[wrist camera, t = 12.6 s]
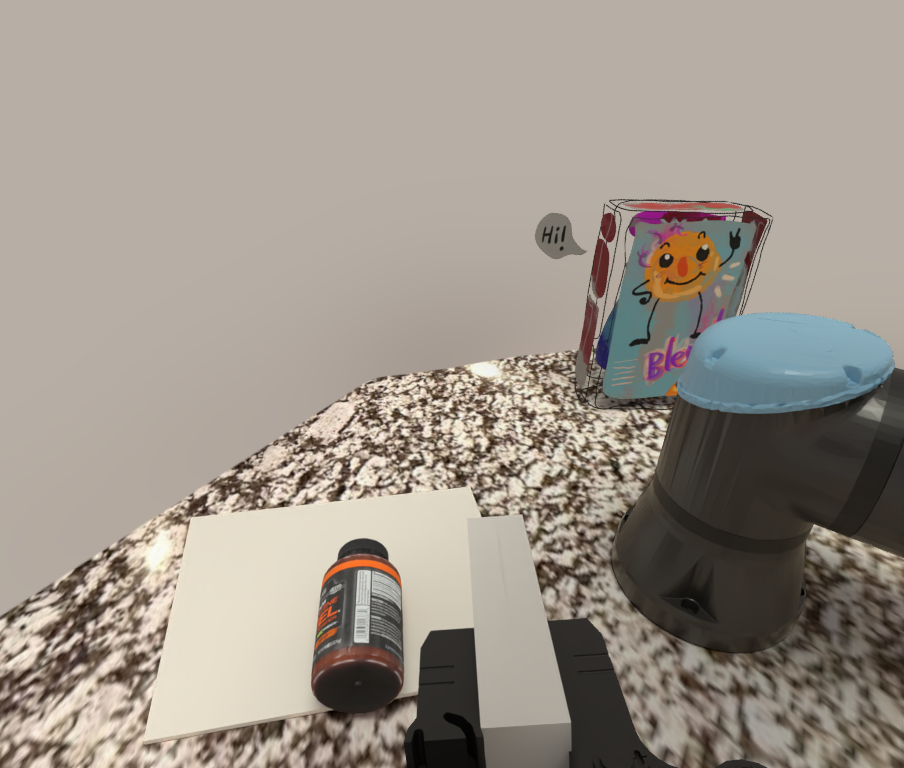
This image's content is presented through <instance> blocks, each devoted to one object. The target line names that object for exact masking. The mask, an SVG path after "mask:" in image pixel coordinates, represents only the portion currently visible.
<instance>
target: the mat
mask: <svg viewBox="0 0 904 768" xmlns="http://www.w3.org/2000/svg"><path fill="white" fill-rule="evenodd" d="M480 517H481V515H480V512H479V509H478V507H477V504H476V501H475V499H474V496H473V493H472V490H471V488H470V487H463V488H454V489H445V490H436V491H427V492H418V493H409V494H400V495H391V496H382V497H373V498H364V499H355V500H346V501H337V502H328V503H319V504H309V505H300V506H291V507H282V508H273V509H264V510H255V511H246V512H237V513H228V514H219V515H210V516H201V517H192V518H191V521H190V525H189V530H188V535H187V539H186V544H185V549H184V553H183V558H182V563H181V567H180V572H179V577H178V581H177V586H176V591H175V595H174V600H173V605H172V609H171V614H170V619H169V623H168V628H167V633H166V637H165V642H164V647H163V651H162V656H161V661H160V665H159V670H158V675H157V680H156V684H155V689H154V694H153V698H152V703H151V708H150V712H149V717H148V722H147V726H146V731H145V736H144V740H143V742H144V744H145V745H146V744H152V743H157V742H163V741H168V740H174V739H179V738H185V737H190V736H195V735H201V734H206V733H212V732H217V731H223V730H228V729H234V728H239V727H244V726H250V725H255V724H261V723H266V722H272V721H277V720H283V719H288V718H294V717H299V716H304V715H310V714H315V713H321V712H326V711H332V709H330V708H328V707H326V706H324V705H323V704H321V703H320V702H319V701H318V700H317V699H316V697H315V696H314V695H313V692H312V688H311V678H312V677H311V673H312V663H313V655H314V645H315V638H316V630H317V622H318V611H319V605H320V595H321V588H322V582H323V578H324V575H325V573H326V572H327V570H328V569H329V568H330V567H331V566H332V565H333V564H334V563H335V562H336V561H337V558H338V553H339V550H340V549H341V547H342V546H343V545H344V544H346V543H347V542H349V541H351V540H354V539H359V538H368V539H373V540H376V541H378V542H380V543H381V544H383V545H384V546H385V547H386V549H387V551H388V556H389V562H390V563H392V564H393V565H394V567H395V568H396V569H397V570H398V572H399V575H400V578H401V584H402V611H403V647H404V683H403V687H402V690H401V692H400V693H399V695H398V696H397V697H396V699H397V698H402V697H408V696H413V695H418V688H419V672H420V669H419V666H420V648H421V646H422V645H423V643H424V641H425V639H426V638H427V636H428V634H429V632H430V631H433V630H447V629H462V628H474V619H473V603H472V588H471V573H470V557H469V542H468V527H467V518H480Z"/></svg>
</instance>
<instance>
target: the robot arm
mask: <svg viewBox="0 0 904 768" xmlns="http://www.w3.org/2000/svg"><path fill="white" fill-rule="evenodd" d="M894 367H895V362H894V359H893V351H892V349H891V347H890V346H889V345H888V343H887V342H886V341H885V340H883V339H882V338H881V337H879V336H877V335H876V334H874V333H872V332H870V331H868V330H862V329H855V327H854V326H853V325H852V324H850V323H846V322H842V321H839V320H835V319H830V318H825V317H819V316H813V315H806V314H796V313H753V314H747V315H740V316H734V317H730V318H727V319H724V320H721V321H719V322H717V323H715V324H713V325H711V326H709V327H708V328H707V329H705V330H704V331H703V332H702V333H701V334H700V335H699V336H698V338H697V339H696V341H695V342H694V344H693V347H692V350H691V352H690V355H689V358H688V361H687V363H686V366H685V369H684V372H683V373H682V374H681V375H680V377H679V379H678V382H677V386H676V387H677V396H676V400H675V403H674V407H673V410H672V414H671V418H670V421H669V425H668V428H667V432H666V435H665V439H664V443H663V446H662V449H661V453H660V456H659V459H658V463H657V467H656V470H655V474H654V477H653V480H652V482H651V483H650V484H649V485H648V486H647V488H646V489H645V490H644V491H643V493H642V494H641V495H640V497H639V498H638V500H637V502H636V504H634V505H633V506H632V507H631V508H630V509H629V510H628V511H627V512H626V513H625V514H624V516H623V517H622V519H621V521H620V523H619V525H618V527H617V531H616V534H615V538H614V542H613V546H612V553H611V558H612V566H613V570H614V573H615V576H616V578H617V580H618V582H619V584H620V586H621V588H622V589H623V591H624V592H625V594H626V595H627V596H628V598H629V599H630V600H631V601H632V603H633V604H634V605H635V606H636V607H637V608H638V609H639V610H640V611H641V612H642V613H643V614H645V615H646V616H647V617H648V618H649V619H651V620H652V621H653V622H655V623H656V624H657V625H659V626H660V627H662V628H663V629H665V630H667V631H668V632H670V633H672V634H674V635H676V636H678V637H680V638H682V639H684V640H686V641H689V642H691V643H694V644H697V645H700V646H703V647H706V648H710V649H715V650H720V651H727V652H753V651H759V650H763V649H766V648H769V647H771V646H774V645H776V644H777V643H779V642H781V641H782V640H783V639H784V638H785V637H786V636H788V634H789V633H790V632H791V630H792V629H793V627H794V625H795V623H796V621H797V619H798V617H799V615H800V614H801V611H802V609H803V606H804V603H805V598H806V581H805V576H804V573H803V571H804V568H805V562H806V540H807V537H808V535H809V533H810V531H811V529H812V527H813V525H814V524H815V525H818V526H821V527H823V528H826V529H829V530H832V531H834V532H837V533H839V534H842V535H845V536H847V537H850V538H852V539H855V540H858V541H860V542H863V543H866V544H868V545H871V546H873V547H876V548H879V549H881V550H884V551H887V552H889V553H892V554H894V555H897V556H900V557H902V558H904V370H902V369H898V368H894ZM467 527H468V542H469V557H470V573H471V588H472V603H473V619H474V628H462V629H447V630H433V631H430V632H429V634H428V636H427V638H426V639H425V641H424V643H423V645H422V646H421V648H420V666H419V669H420V672H419V688H418V703H417V718H416V719H415V721H414V722H413V723H412V724H411V726H410V727H409V728H408V730H407V734H406V737H405V740H404V747H405V754H406V762H407V768H677V767H674V766H671V765H669V764H667V763H665V762H663V761H662V760H660V759H658V758H657V757H656V756H654V755H653V754H652V753H651V752H650V751H649V750H648V749H647V748H646V747H645V746H644V745H643V743H642V742H641V741H640V739H639V737H638V735H637V733H636V731H635V728H634V725H633V722H632V719H631V717H630V714H629V711H628V708H627V705H626V702H625V699H624V697H623V694H622V691H621V688H620V685H619V682H618V679H617V677H616V674H615V673H614V668H613V665H612V662H611V659H610V657H609V655H608V651H607V648H606V645H605V642H604V639H603V637H602V634H601V633H600V632H599V631H598V630H597V629H596V628H595V627H594V626H593V624H592V623H591V622H590V621H589V620H588V619H587V618H583V619H569V620H555V621H547V618H546V613H545V609H544V605H543V601H542V596H541V592H540V588H539V584H538V579H537V575H536V571H535V567H534V562H533V558H532V554H531V549H530V545H529V541H528V537H527V532H526V528H525V524H524V520H523V515H508V516H494V517H480V518H467ZM716 768H766V767H765V766H763V765H761V764H759V763H755V762H751V761H746V760H742V759H741V760H731V761H726V762H724V763H722V764H721V765H719V766H717V767H716Z"/></svg>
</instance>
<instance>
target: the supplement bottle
mask: <svg viewBox="0 0 904 768" xmlns="http://www.w3.org/2000/svg"><path fill="white" fill-rule="evenodd" d="M311 677H312V678H311V688H312V692H313V695H314V696H315V697H316V699H317V700H318V701H319V702H320V703H321V704H323V705H324V706H326V707H328V708H330V709H332V710H336V711H339V712H345V713H367V712H371V711H374V710H377V709H379V708H382V707H384V706H386V705H387V704H389V703H391V702H392V701H393V700H394V699H396V697H397V696H398V695H399V693H400V692H401V690H402V687H403V683H404V647H403V611H402V584H401V578H400V575H399V572H398V570H397V569H396V568H395V567H394V565H393V564H392V563H390V562H389V556H388V551H387V549H386V547H385V546H384V545H383V544H381V543H380V542H378V541H376V540H373V539H368V538H359V539H354V540H351V541H349V542H347V543H346V544H344V545H343V546H342V547H341V549H340V550H339V553H338V558H337V561H336V562H335V563H334V564H333V565H332V566H331V567H330V568H329V569H328V570H327V572H326V573H325V575H324V578H323V582H322V588H321V595H320V605H319V611H318V622H317V630H316V638H315V645H314V655H313V663H312V673H311Z"/></svg>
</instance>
